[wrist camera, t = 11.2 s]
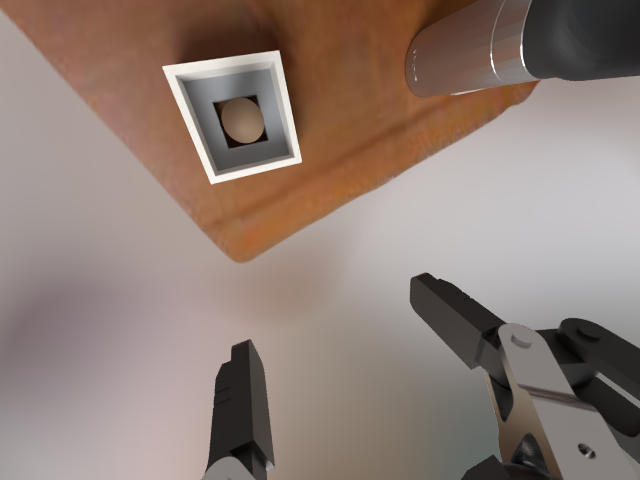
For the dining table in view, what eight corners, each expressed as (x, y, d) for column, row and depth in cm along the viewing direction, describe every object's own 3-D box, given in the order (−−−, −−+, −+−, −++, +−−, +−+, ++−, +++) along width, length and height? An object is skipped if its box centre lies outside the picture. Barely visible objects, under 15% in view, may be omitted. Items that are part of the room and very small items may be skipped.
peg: (251, 103, 31) (257, 94, 22) (260, 135, 33) (269, 138, 24) (221, 109, 30) (214, 101, 21) (232, 141, 32) (230, 146, 23)
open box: (272, 63, 30) (279, 50, 25) (292, 157, 36) (301, 162, 31) (176, 77, 27) (162, 66, 22) (215, 175, 33) (211, 184, 28)
